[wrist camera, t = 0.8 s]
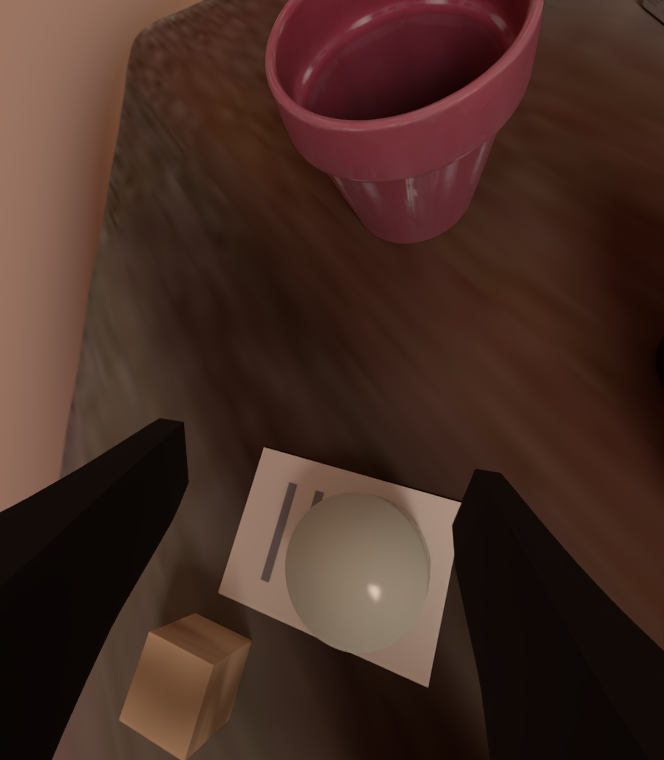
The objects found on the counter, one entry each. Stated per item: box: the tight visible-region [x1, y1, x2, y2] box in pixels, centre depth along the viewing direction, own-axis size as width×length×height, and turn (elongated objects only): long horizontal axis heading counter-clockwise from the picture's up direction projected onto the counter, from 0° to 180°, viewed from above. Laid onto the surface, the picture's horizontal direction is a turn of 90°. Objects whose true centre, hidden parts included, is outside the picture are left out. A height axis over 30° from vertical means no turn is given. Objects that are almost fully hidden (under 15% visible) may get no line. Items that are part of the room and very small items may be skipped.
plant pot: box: [265, 0, 544, 244], centre depth 26 cm, size 14×14×13 cm
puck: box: [285, 492, 431, 653], centre depth 23 cm, size 8×8×3 cm
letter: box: [218, 447, 461, 687], centre depth 25 cm, size 10×14×1 cm
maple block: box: [119, 613, 252, 760], centre depth 24 cm, size 4×4×4 cm
